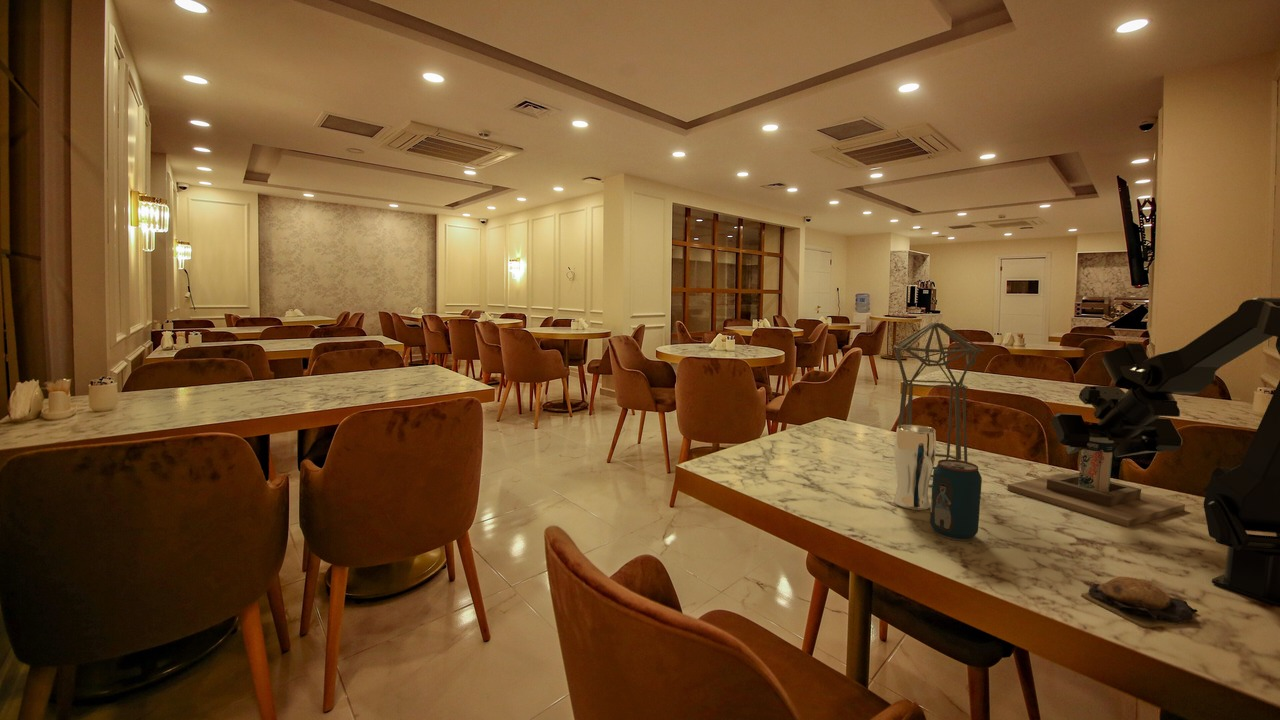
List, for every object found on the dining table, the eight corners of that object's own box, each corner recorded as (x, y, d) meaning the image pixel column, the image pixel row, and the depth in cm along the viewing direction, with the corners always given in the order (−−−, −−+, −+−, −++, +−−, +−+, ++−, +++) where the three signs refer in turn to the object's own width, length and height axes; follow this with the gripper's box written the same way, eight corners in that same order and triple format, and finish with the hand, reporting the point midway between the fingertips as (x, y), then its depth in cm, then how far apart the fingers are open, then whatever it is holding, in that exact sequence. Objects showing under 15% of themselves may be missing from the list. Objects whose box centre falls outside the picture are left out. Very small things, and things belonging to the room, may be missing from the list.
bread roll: (1147, 636, 61) (1150, 606, 60) (1072, 596, 69) (1075, 570, 68) (1211, 623, 63) (1215, 594, 63) (1131, 586, 71) (1134, 561, 71)
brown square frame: (1127, 526, 90) (1129, 509, 90) (1007, 489, 108) (1008, 475, 108) (1184, 510, 98) (1186, 493, 98) (1063, 478, 116) (1064, 464, 116)
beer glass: (883, 500, 102) (887, 425, 100) (909, 496, 104) (914, 423, 103) (913, 513, 95) (918, 433, 94) (940, 508, 98) (945, 431, 96)
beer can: (1070, 489, 105) (1076, 431, 104) (1095, 490, 105) (1101, 432, 104) (1089, 497, 101) (1095, 437, 99) (1115, 498, 100) (1121, 438, 99)
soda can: (976, 530, 88) (981, 462, 87) (978, 546, 82) (984, 473, 81) (929, 521, 92) (934, 455, 90) (928, 536, 86) (933, 466, 84)
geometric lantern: (892, 487, 109) (898, 322, 107) (887, 468, 124) (893, 322, 121) (979, 497, 103) (988, 322, 101) (964, 476, 118) (971, 322, 115)
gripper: (1177, 375, 95) (1128, 422, 107) (1060, 372, 99) (1026, 417, 110) (1209, 427, 88) (1153, 470, 100) (1082, 421, 92) (1043, 463, 104)
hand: (1091, 453), depth 104 cm, fingers open, 8 cm apart
